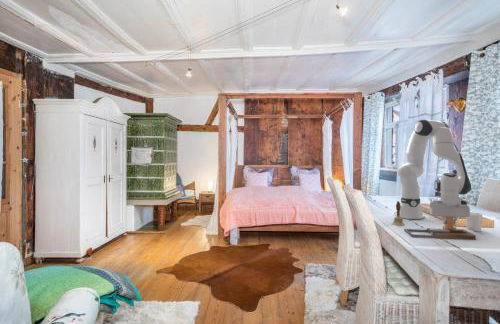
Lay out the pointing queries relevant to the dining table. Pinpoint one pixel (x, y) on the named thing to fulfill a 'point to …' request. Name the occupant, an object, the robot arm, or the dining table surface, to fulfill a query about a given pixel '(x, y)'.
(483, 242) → the dining table surface
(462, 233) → the slot board
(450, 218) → the stepped wedge block
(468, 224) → the white cup
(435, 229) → the grey square block
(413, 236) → the tray
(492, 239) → the dining table surface
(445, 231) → the light grey block
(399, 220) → the hand bell
